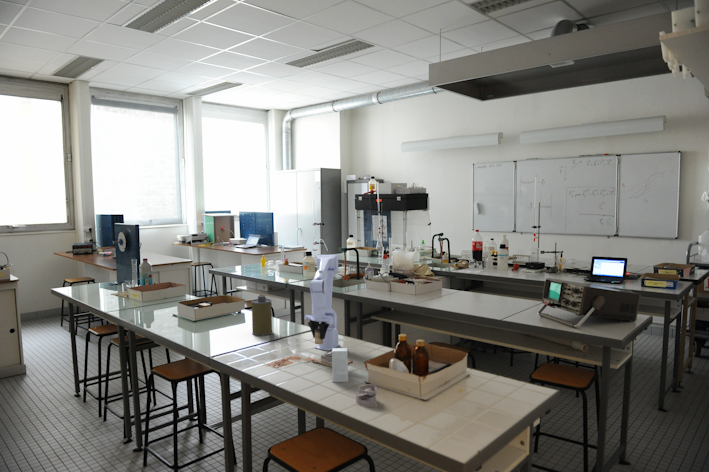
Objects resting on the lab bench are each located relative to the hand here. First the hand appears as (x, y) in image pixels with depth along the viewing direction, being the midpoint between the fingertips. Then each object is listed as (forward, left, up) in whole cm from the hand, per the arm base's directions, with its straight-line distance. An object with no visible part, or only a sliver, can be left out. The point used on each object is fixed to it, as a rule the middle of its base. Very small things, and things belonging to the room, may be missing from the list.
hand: (319, 338), depth 203 cm
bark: (+11, -8, -10) cm, 17 cm away
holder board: (-1, +7, -9) cm, 12 cm away
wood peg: (0, 0, -2) cm, 2 cm away
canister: (-16, -52, -10) cm, 55 cm away
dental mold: (+25, +42, -10) cm, 50 cm away
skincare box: (+14, +22, -10) cm, 28 cm away
